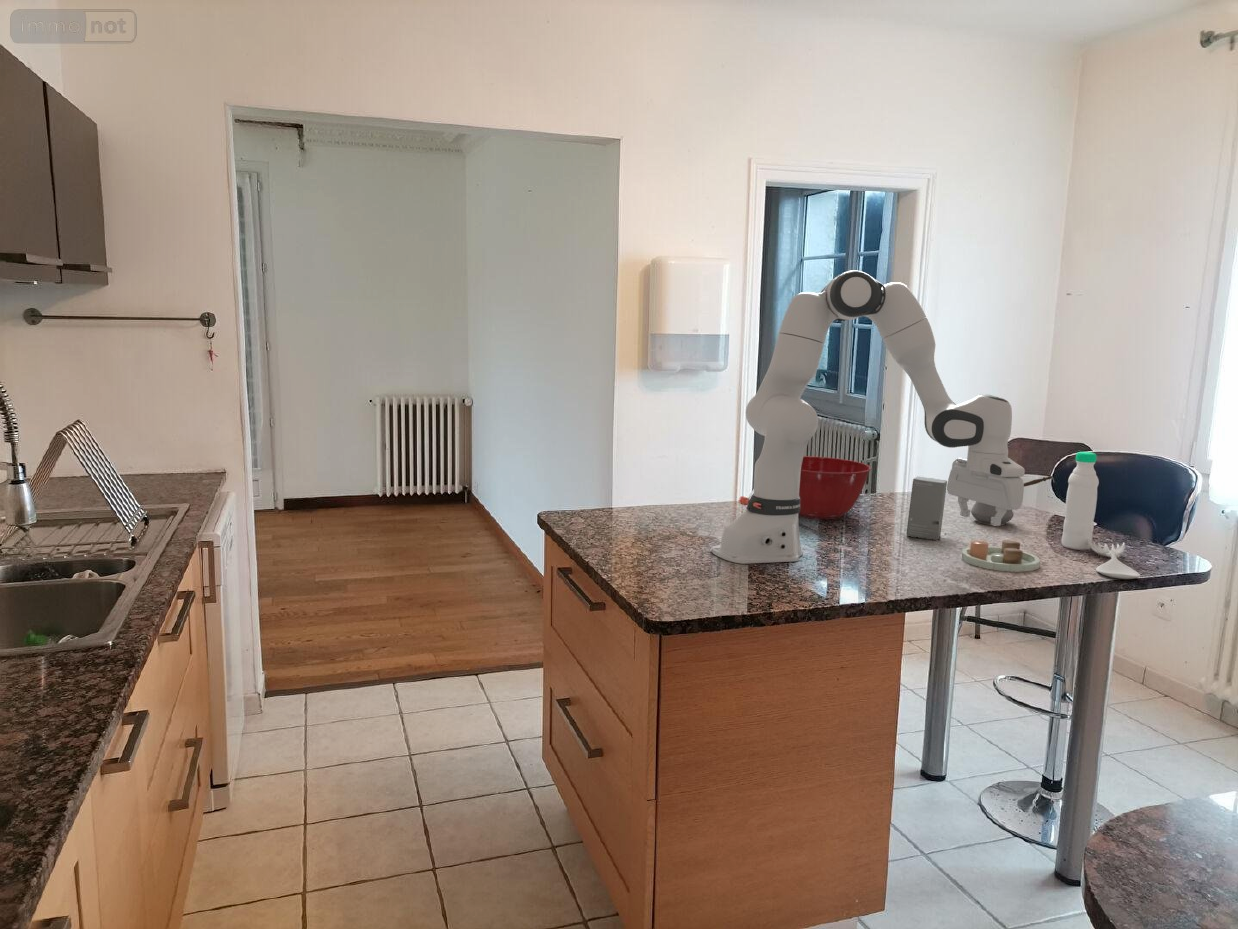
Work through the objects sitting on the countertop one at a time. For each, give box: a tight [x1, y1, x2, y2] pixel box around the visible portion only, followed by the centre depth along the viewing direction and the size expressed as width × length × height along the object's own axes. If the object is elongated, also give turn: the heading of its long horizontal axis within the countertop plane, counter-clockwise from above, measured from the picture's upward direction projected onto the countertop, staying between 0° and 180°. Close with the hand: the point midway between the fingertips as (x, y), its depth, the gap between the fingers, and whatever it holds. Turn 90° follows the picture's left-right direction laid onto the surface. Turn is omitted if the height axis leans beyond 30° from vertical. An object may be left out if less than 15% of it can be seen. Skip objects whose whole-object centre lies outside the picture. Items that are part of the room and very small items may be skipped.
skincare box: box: [906, 476, 948, 541], centre depth 243 cm, size 8×7×16 cm
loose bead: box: [969, 540, 989, 561], centre depth 218 cm, size 4×4×4 cm
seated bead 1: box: [1001, 539, 1021, 554], centre depth 219 cm, size 4×4×4 cm
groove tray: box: [961, 545, 1041, 573], centre depth 216 cm, size 17×17×2 cm
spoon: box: [1087, 539, 1142, 580], centre depth 217 cm, size 9×32×3 cm, turn 158°
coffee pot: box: [970, 475, 1055, 526], centre depth 260 cm, size 21×12×15 cm, turn 71°
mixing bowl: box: [798, 455, 872, 520], centre depth 267 cm, size 28×28×15 cm
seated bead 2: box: [1003, 548, 1023, 564], centre depth 212 cm, size 4×4×4 cm
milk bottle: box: [1061, 451, 1100, 551], centre depth 234 cm, size 7×7×25 cm
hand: (979, 520), depth 216 cm, fingers open, 8 cm apart
